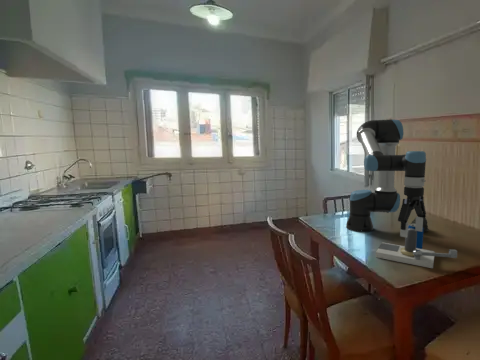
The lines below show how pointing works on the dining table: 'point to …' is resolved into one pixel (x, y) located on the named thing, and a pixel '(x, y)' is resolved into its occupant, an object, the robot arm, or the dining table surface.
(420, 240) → the beverage can
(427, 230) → the rock
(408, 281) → the dining table surface
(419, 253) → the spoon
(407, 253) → the grey post on base
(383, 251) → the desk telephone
